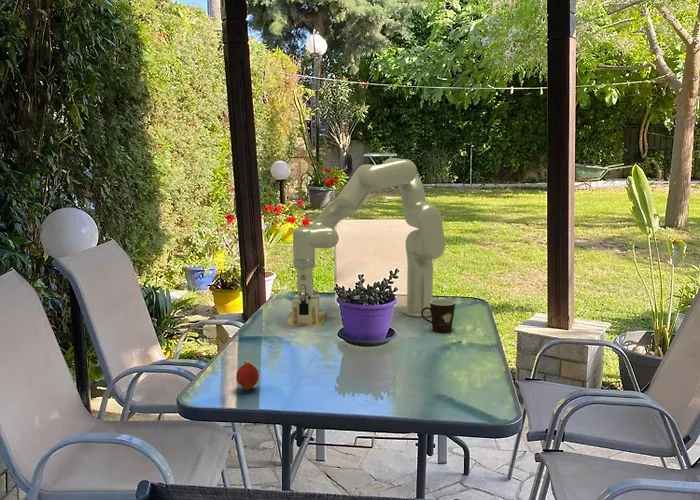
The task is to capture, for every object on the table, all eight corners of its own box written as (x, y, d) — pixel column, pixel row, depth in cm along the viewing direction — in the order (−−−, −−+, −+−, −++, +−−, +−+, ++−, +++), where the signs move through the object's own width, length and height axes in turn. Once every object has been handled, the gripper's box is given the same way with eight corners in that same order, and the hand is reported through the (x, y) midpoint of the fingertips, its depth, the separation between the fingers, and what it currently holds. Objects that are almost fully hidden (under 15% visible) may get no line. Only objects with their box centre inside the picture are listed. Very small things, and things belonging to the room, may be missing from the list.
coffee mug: (453, 327, 224) (454, 299, 222) (455, 334, 216) (456, 305, 214) (420, 326, 225) (421, 298, 224) (420, 333, 217) (421, 305, 215)
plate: (319, 313, 236) (319, 294, 235) (319, 315, 234) (319, 296, 233) (295, 313, 237) (294, 295, 235) (294, 315, 234) (294, 296, 233)
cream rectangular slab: (318, 320, 227) (317, 298, 225) (317, 323, 224) (317, 300, 223) (292, 321, 227) (292, 299, 225) (292, 323, 224) (291, 301, 223)
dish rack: (325, 315, 239) (325, 296, 238) (323, 329, 222) (323, 308, 221) (290, 315, 239) (290, 296, 238) (285, 329, 222) (285, 308, 221)
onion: (249, 383, 174) (248, 355, 172) (263, 388, 170) (262, 360, 169) (232, 390, 169) (231, 361, 168) (247, 395, 166) (246, 366, 164)
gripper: (313, 268, 213) (314, 317, 216) (316, 258, 230) (317, 304, 233) (291, 268, 213) (292, 317, 216) (295, 258, 230) (296, 304, 233)
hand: (305, 310), depth 225 cm, fingers open, 9 cm apart
